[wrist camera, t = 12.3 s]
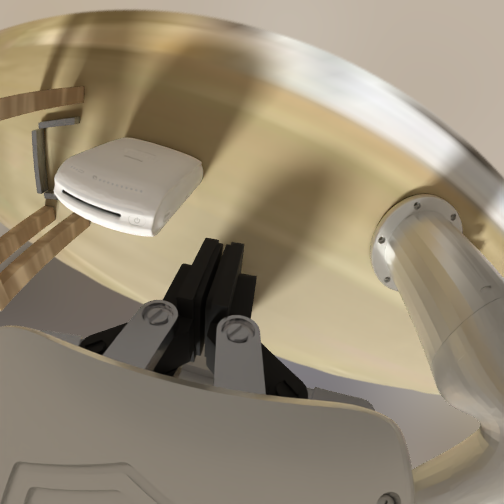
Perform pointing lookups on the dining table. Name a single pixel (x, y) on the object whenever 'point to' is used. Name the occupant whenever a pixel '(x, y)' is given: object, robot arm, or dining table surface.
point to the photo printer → (128, 184)
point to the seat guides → (40, 153)
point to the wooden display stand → (49, 245)
